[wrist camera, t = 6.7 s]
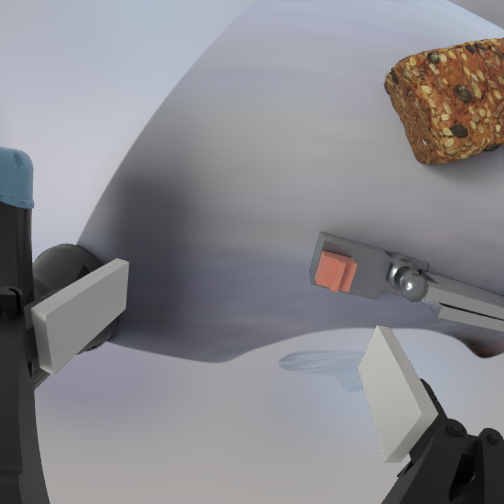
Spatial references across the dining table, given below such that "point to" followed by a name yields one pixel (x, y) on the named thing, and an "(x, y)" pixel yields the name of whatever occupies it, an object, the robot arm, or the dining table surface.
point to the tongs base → (390, 278)
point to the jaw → (447, 292)
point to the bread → (451, 100)
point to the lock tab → (335, 271)
